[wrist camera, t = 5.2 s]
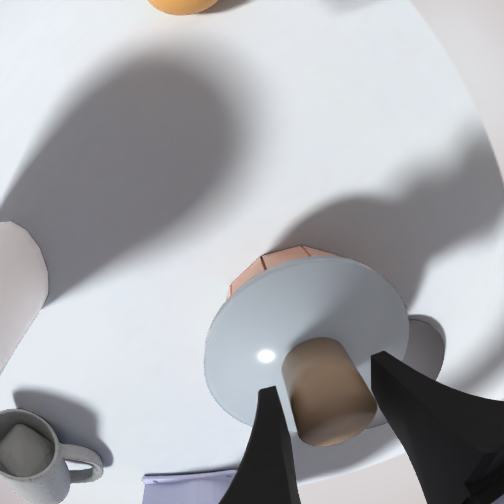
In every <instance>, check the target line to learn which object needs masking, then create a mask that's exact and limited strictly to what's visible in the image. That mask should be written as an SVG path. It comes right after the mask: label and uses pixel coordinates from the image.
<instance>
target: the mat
mask: <svg viewBox="0 0 504 504" xmlns="http://www.w3.org/2000/svg"><path fill="white" fill-rule="evenodd" d="M443 360H444V343H443V340H442V338H441V336H440V335H439V333H438V332H437V331H436V330H435V329H434V328H433V327H431V326H430V325H429V324H427V323H425V322H423V321H419V320H409V339H408V344H407V349H406V352H405V355H404V358H403V360H402V362H403V363H405V364H406V365H408V366H410V367H411V368H413V369H415V370H416V371H418V372H420V373H422V374H424V375H425V376H427V377H429V378H431V379H433V380H436V379H437V377H438V375H439V372H440V370H441V367H442V364H443ZM387 422H388V421H387V420H386V418H385V416H384V415H383V413H382V412H381V410H380V408H379V406H378V404H377V412H376V415H375V417H374V419H373V420H372V422H371V423H370V424H369V425H368V426H367V427H366V428H365V429H368V428H373V427H376V426H380V425H382V424H385V423H387Z"/></svg>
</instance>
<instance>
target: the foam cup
mask: <svg viewBox="0 0 504 504" xmlns="http://www.w3.org/2000/svg"><path fill="white" fill-rule="evenodd" d="M48 293H49V291H48V270H47V267H46V265H45V262H44V259H43V256H42V253H41V250H40V248H39V246H38V245H37V244H36V242H35V241H34V240H33V238H32V237H31V236H30V234H29V233H28V231H27V230H25V229H24V228H22V227H20V226H19V225H17V224H15V223H13V222H12V221H7V222H0V375H1V373H2V371H3V370H4V368H5V366H6V364H7V363H8V361H9V359H10V358H11V356H12V354H13V353H14V351H15V349H16V348H17V346H18V344H19V343H20V341H21V340H22V338H23V337H24V335H25V333H26V332H27V330H28V329H29V327H30V326H31V324H32V323H33V321H34V320H35V318H36V317H37V315H38V314H39V311H40V310H41V309H42V307H43V305H44V302H45V300H46V298H47V295H48Z"/></svg>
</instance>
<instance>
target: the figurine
mask: <svg viewBox="0 0 504 504" xmlns="http://www.w3.org/2000/svg"><path fill="white" fill-rule="evenodd" d="M148 1H149V2H150V3H151V4H152V5H153V6H154V7H155V8H157V9H158V10H160V11H162V12H165V13H168V14H172V15H191V14H195V13H198V12H201V11H204V10H206V9H208V8H209V7H211V6H212V5H214V4H215V3H216V2H217V1H218V0H148Z"/></svg>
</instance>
